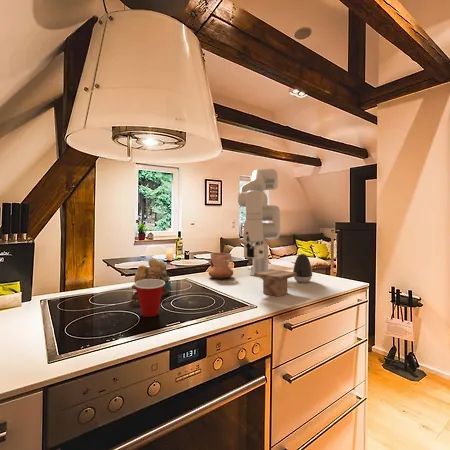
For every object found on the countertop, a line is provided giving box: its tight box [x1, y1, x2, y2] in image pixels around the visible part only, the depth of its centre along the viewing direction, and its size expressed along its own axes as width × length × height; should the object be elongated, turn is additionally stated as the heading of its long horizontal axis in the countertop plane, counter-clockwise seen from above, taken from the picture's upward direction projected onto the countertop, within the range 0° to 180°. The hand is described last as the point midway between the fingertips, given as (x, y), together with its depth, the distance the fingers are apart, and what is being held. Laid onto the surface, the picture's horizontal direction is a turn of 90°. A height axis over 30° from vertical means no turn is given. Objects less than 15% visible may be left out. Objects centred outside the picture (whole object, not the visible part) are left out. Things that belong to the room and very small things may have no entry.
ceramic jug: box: [208, 252, 234, 280], centre depth 167 cm, size 18×14×14 cm
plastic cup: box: [134, 279, 166, 318], centre depth 104 cm, size 11×11×12 cm
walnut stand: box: [253, 268, 297, 297], centre depth 132 cm, size 14×14×10 cm
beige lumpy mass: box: [131, 258, 171, 301], centre depth 129 cm, size 18×12×17 cm, turn 130°
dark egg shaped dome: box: [292, 253, 313, 284], centre depth 155 cm, size 10×10×15 cm
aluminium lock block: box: [243, 244, 264, 260], centre depth 132 cm, size 9×5×6 cm, turn 45°
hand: (254, 256), depth 133 cm, fingers closed on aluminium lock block, 5 cm apart
